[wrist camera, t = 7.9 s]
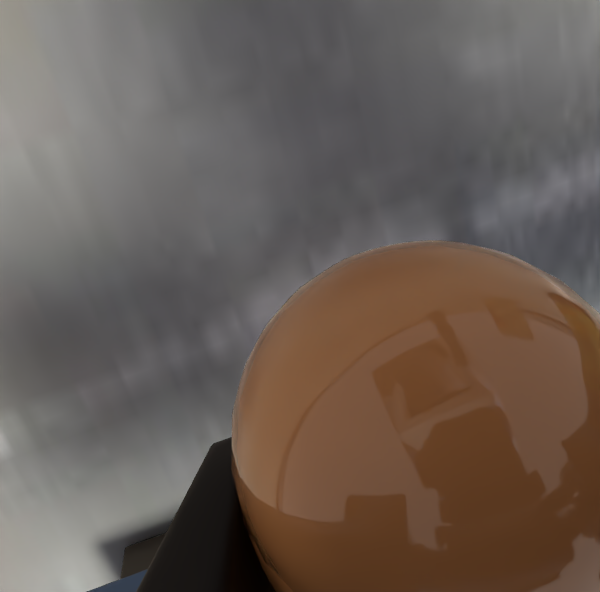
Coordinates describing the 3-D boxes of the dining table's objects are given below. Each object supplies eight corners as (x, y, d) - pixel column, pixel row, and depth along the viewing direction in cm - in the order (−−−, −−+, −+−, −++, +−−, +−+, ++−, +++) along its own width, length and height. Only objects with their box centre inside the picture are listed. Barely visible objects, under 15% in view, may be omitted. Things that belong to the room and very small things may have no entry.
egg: (474, 173, 8) (901, 244, 3) (499, 458, 10) (761, 740, 6) (177, 260, 7) (151, 510, 3) (277, 540, 10) (361, 934, 5)
